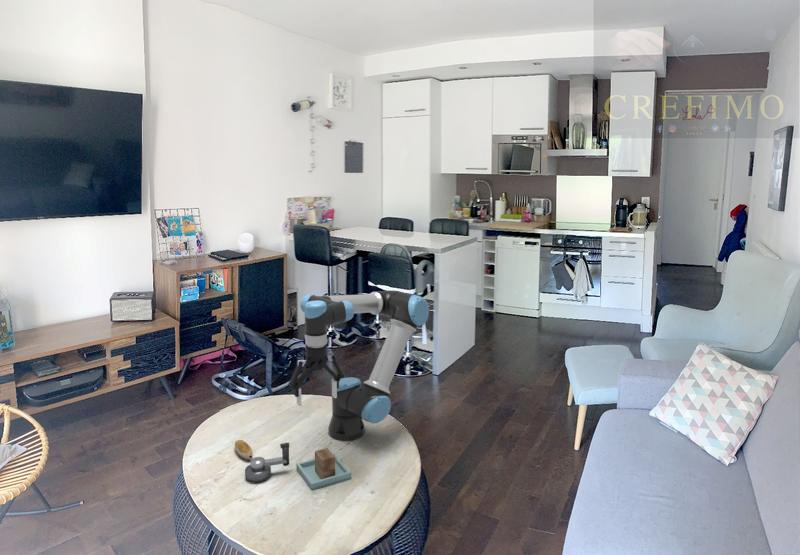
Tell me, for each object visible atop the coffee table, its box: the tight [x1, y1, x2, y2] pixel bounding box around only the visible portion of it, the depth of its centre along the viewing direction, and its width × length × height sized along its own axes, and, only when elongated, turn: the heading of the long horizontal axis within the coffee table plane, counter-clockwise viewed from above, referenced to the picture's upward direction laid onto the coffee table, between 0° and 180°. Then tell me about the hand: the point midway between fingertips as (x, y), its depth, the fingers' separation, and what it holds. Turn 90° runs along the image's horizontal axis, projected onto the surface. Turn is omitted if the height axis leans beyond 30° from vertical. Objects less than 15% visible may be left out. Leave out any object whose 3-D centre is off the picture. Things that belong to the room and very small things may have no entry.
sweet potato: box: [234, 439, 254, 461], centre depth 217 cm, size 5×14×4 cm, turn 33°
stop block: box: [314, 447, 335, 479], centre depth 202 cm, size 5×7×8 cm
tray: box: [295, 453, 352, 491], centre depth 204 cm, size 15×15×2 cm
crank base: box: [244, 464, 272, 485], centre depth 202 cm, size 10×9×3 cm
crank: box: [249, 442, 290, 472], centre depth 202 cm, size 14×5×8 cm, turn 110°
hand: (317, 400), depth 203 cm, fingers open, 13 cm apart
